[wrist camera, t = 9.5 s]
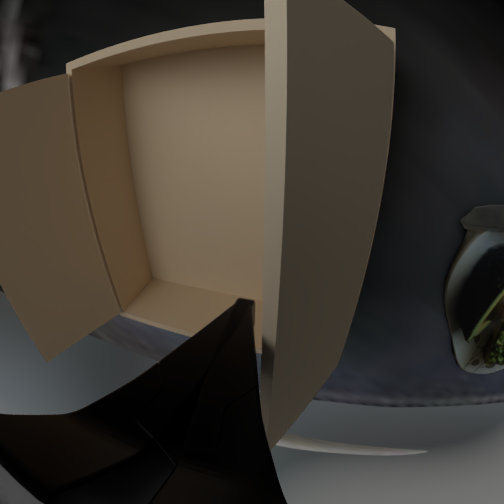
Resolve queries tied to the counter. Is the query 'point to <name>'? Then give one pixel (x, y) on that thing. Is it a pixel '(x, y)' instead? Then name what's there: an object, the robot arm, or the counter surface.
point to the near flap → (317, 190)
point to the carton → (178, 169)
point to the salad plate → (478, 292)
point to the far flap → (48, 221)
